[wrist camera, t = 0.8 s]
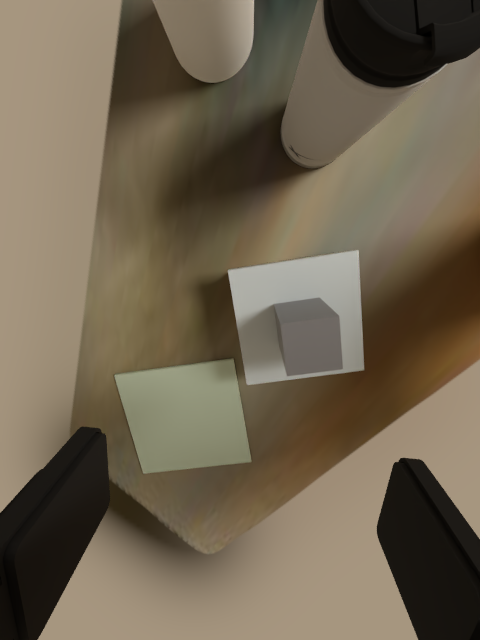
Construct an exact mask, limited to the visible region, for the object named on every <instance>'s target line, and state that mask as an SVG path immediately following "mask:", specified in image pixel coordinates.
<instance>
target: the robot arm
mask: <svg viewBox="0 0 480 640" xmlns="http://www.w3.org/2000/svg"><path fill="white" fill-rule="evenodd" d="M109 501H110V491H109V475H108V459H107V443H106V435H105V434H103V433H102V432H101V429H99V428H90V427H80V428H79V429H78V430H77V431H76V432H75V434H74V435H73V436H72V437H71V438H70V439H69V440H68V441H67V443H66V444H65V445H64V446H63V447H62V448H61V449H60V450H59V452H58V453H57V454H56V455H55V456H54V457H53V458H52V459H51V460H50V462H49V463H48V464H47V465H46V466H45V467H44V468H43V469H41V470H40V471H39V472H38V473H36V475H34V477H33V478H32V479H31V480H30V481H29V482H28V483H27V484H26V485H25V486H24V488H23V489H22V490H21V491H20V492H19V493H18V494H17V495H16V496H15V498H14V499H13V500H12V501H11V502H10V503H9V504H8V505H7V506H6V507H5V509H4V510H3V511H2V512H1V513H0V640H37V639H38V638H39V636H40V635H41V633H42V631H43V629H44V627H45V625H46V623H47V622H48V620H49V618H50V616H51V614H52V612H53V610H54V608H55V606H56V605H57V603H58V601H59V599H60V597H61V595H62V593H63V591H64V590H65V588H66V586H67V584H68V582H69V580H70V578H71V576H72V574H73V573H74V570H75V569H76V567H77V565H78V563H79V561H80V560H81V557H82V556H83V554H84V552H85V550H86V548H87V546H88V544H89V543H90V541H91V539H92V537H93V535H94V533H95V531H96V529H97V528H98V526H99V524H100V522H101V520H102V518H103V516H104V515H105V513H106V511H107V508H108V506H109ZM377 535H378V538H379V542H380V544H381V547H382V549H383V551H384V554H385V556H386V559H387V561H388V564H389V567H390V569H391V572H392V574H393V577H394V579H395V582H396V584H397V587H398V589H399V592H400V594H401V597H402V600H403V602H404V604H405V607H406V609H407V612H408V614H409V617H410V620H411V622H412V625H413V627H414V630H415V632H416V635H417V637H418V640H480V539H479V538H478V537H477V535H476V534H475V532H474V531H473V529H472V528H471V527H470V525H469V524H468V523H467V521H466V520H465V518H464V517H463V516H462V514H461V513H460V511H459V510H458V509H457V507H456V506H455V505H454V503H453V502H452V500H451V499H450V498H449V496H448V495H447V493H446V492H445V491H444V489H443V488H442V487H441V485H440V484H439V482H438V481H437V480H436V478H435V477H434V476H433V474H432V473H431V471H430V470H429V469H428V468H427V466H426V465H425V463H424V462H423V461H422V460H419V459H409V458H401V459H400V460H399V462H395V463H394V465H393V468H392V472H391V476H390V480H389V483H388V487H387V490H386V494H385V498H384V501H383V505H382V509H381V513H380V516H379V520H378V524H377Z"/></svg>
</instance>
